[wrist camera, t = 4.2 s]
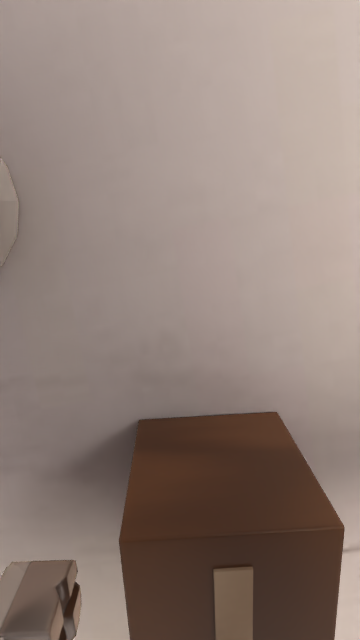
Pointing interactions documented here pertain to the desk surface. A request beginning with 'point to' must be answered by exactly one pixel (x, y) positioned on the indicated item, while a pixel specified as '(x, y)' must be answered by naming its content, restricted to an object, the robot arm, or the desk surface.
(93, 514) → the desk surface
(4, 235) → the rook chess piece
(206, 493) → the dark brown wooden block
